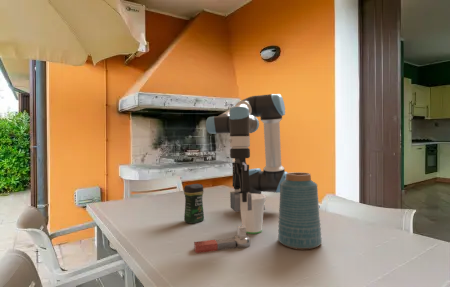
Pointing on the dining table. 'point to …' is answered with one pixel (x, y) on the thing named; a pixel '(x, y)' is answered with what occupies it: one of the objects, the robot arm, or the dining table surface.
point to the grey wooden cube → (236, 201)
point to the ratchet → (224, 242)
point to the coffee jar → (193, 203)
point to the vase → (299, 212)
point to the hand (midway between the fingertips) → (240, 208)
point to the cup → (254, 215)
